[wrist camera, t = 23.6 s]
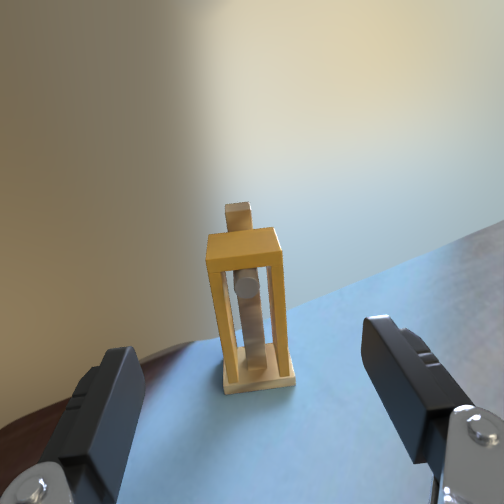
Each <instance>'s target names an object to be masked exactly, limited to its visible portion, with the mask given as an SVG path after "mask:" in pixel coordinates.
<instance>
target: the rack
mask: <svg viewBox="0 0 504 504" xmlns="http://www.w3.org/2000/svg"><path fill="white" fill-rule="evenodd" d="M225 216H226V223H227V229H228V232H234V231H243V230H251V229H253V224H252V215H251V208H250V204H249V202H242V203H233V204H226V205H225ZM233 276H234V291H235V293H236V294H237V299H238V305H239V312H240V319H241V326H242V333H243V340H244V347H237V356H238V378H239V382H238V383H232V384H229V383H228V378H227V373H226V367H225V362H224V357H223V388H224V393H225V395H228V394H235V393H243V392H250V391H258V390H265V389H273V388H280V387H288V386H295V385H296V378H295V373H294V369H293V365H292V361H291V357H290V353H289V349H288V354H289V370H290V376H288V377H280V376H279V371H278V366H277V360H276V355H275V350H274V345H273V343H267V344H265V337H264V328H263V318H262V310H261V300H260V290H259V288H260V285H259V279H258V271H257V267H256V268H248V269H240V270H233Z"/></svg>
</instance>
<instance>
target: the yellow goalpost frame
mask: <svg viewBox="0 0 504 504" xmlns="http://www.w3.org/2000/svg"><path fill="white" fill-rule="evenodd" d="M206 266H207V271H208V277H209V282H210V287H211V293H212V297H213V303H214V309H215V314H216V319H217V325H218V330H219V335H220V341H221V346H222V351H223V357H224V362H225V367H226V373H227V378H228V383H229V384H232V383H238V382H239V378H238V356H237V343H236V336H235V330H234V324H233V317H232V311H231V305H230V298H229V292H228V285H227V279H226V273H225V271H231V270H240V269H248V268H256V267H265V266H266V268H267V280H268V292H269V302H270V314H271V325H272V337H273V345H274V350H275V355H276V360H277V366H278V371H279V376H280V377H288V376H290V370H289V354H288V337H287V321H286V305H285V289H284V272H283V255H282V249H281V246H280V243H279V241H278V238H277V235H276V233H275V230H274V227H268V228H260V229H251V230H243V231H234V232H226V233H218V234H209V235H208V244H207V252H206Z"/></svg>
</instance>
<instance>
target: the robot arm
mask: <svg viewBox="0 0 504 504" xmlns="http://www.w3.org/2000/svg"><path fill="white" fill-rule="evenodd" d="M361 356H362V361H363V365H364V367H365V369H366V371H367V373H368V375H369V377H370V379H371V381H372V383H373V385H374V387H375V389H376V391H377V393H378V395H379V397H380V399H381V401H382V403H383V405H384V407H385V409H386V411H387V413H388V415H389V417H390V419H391V421H392V422H393V424H394V426H395V428H396V430H397V432H398V434H399V436H400V438H401V440H402V442H403V444H404V446H405V448H406V450H407V452H408V454H409V456H410V458H411V460H412V462H413V464H420V463H428V465H429V467H430V468H431V470H432V472H433V476H432V481H431V489H430V496H429V504H504V421H503V420H502V419H501V418H500V417H498V416H497V415H495V414H493V413H491V412H490V411H487V410H485V409H483V408H479V407H476V406H475V405H474V404H473V402H472V401H471V400H470V399H469V397H468V396H467V395H466V394H465V393H464V391H463V390H462V389H461V388H460V386H459V385H458V384H457V383H456V381H455V380H454V379H453V378H452V376H451V375H450V374H449V373H448V371H447V370H446V369H445V368H444V366H443V365H442V364H441V363H439V360H438V359H437V358H436V356H435V355H434V354H433V353H431V350H430V349H429V348H428V346H427V345H426V344H425V343H424V341H423V340H422V339H421V338H420V337H419V336H417V335H416V334H414V333H413V332H411V331H410V330H408V329H407V328H402V329H399V328H398V327H397V326H396V324H395V323H394V322H393V320H392V319H391V318H390V317H389V316H388V315H381V316H373V317H366V318H365V319H364V321H363V332H362V344H361ZM144 396H145V378H144V375H143V372H142V369H141V367H140V364H139V361H138V358H137V355H136V352H135V350H134V348H133V347H132V346H129V347H121V348H113V349H108V350H107V351H106V353H105V355H104V358H103V360H102V362H101V364H100V366H96V367H92V368H91V369H90V370H89V371H88V372H87V373H86V374H85V375H84V377H82V379H81V380H80V381H79V383H78V385H77V387H76V389H75V391H74V393H73V395H72V398H71V399H70V400H69V402H68V404H67V406H66V411H64V412H63V414H62V416H61V418H60V420H59V422H58V424H57V426H56V428H55V430H54V432H53V434H52V436H51V438H50V440H49V442H48V444H47V446H46V448H45V450H44V452H43V454H42V456H41V458H40V460H39V461H38V463H37V465H34V466H32V467H31V468H29V469H27V470H26V471H24V472H23V473H21V474H20V475H19V476H18V477H17V478H16V479H15V480H14V481H13V482H12V483H11V484H10V485H9V486H8V488H7V489H6V490H5V492H4V493H3V495H2V496H0V504H116V501H117V498H118V494H119V490H120V486H121V483H122V479H123V475H124V471H125V468H126V464H127V460H128V456H129V453H130V449H131V445H132V441H133V438H134V434H135V430H136V426H137V423H138V419H139V415H140V411H141V407H142V404H143V400H144Z"/></svg>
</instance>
